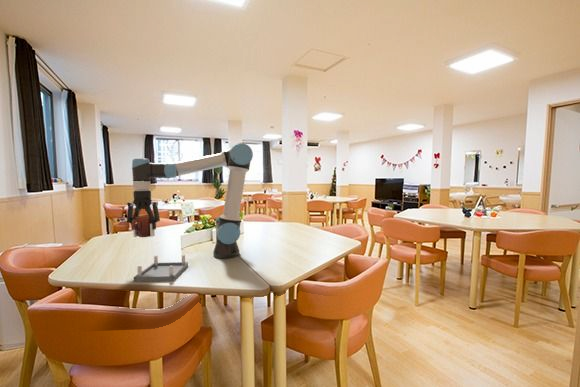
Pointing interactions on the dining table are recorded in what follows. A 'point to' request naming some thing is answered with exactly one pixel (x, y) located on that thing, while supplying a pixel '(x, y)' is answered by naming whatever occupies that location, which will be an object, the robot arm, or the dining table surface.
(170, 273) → the tray
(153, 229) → the robot arm
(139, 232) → the mug
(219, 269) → the dining table surface
